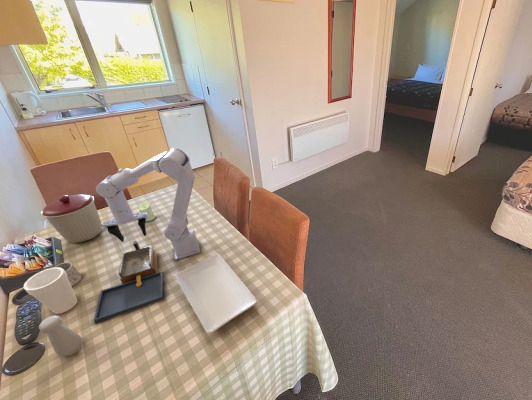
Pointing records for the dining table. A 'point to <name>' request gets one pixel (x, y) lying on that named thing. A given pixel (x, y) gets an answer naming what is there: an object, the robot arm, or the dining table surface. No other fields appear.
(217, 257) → the tray
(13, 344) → the dining table surface
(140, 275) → the key
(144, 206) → the candle
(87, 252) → the dining table surface
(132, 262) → the dish
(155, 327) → the dining table surface
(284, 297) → the dining table surface
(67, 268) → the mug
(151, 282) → the tray
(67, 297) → the foam cup
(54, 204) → the canister
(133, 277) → the shallow wooden box
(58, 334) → the salt shaker
